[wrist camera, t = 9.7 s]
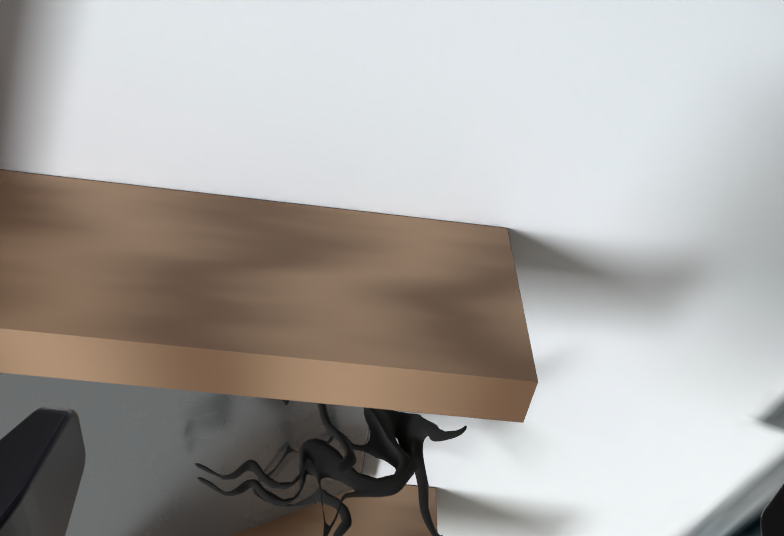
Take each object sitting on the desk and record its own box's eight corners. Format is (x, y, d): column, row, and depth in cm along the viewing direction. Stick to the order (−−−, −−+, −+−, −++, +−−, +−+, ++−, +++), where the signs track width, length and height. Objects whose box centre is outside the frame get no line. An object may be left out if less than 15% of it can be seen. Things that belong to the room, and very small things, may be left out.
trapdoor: (382, 265, 24) (394, 280, 23) (350, 472, 30) (359, 487, 30) (-37, 359, 18) (-34, 381, 18) (36, 585, 25) (39, 606, 25)
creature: (202, 495, 27) (408, 457, 29) (214, 640, 23) (452, 585, 25) (180, 346, 22) (430, 313, 24) (190, 500, 18) (488, 445, 20)
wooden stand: (507, 228, 23) (538, 381, 18) (429, 508, 32) (435, 663, 27) (-41, 165, 22) (-179, 310, 16) (41, 474, 31) (-31, 630, 26)
